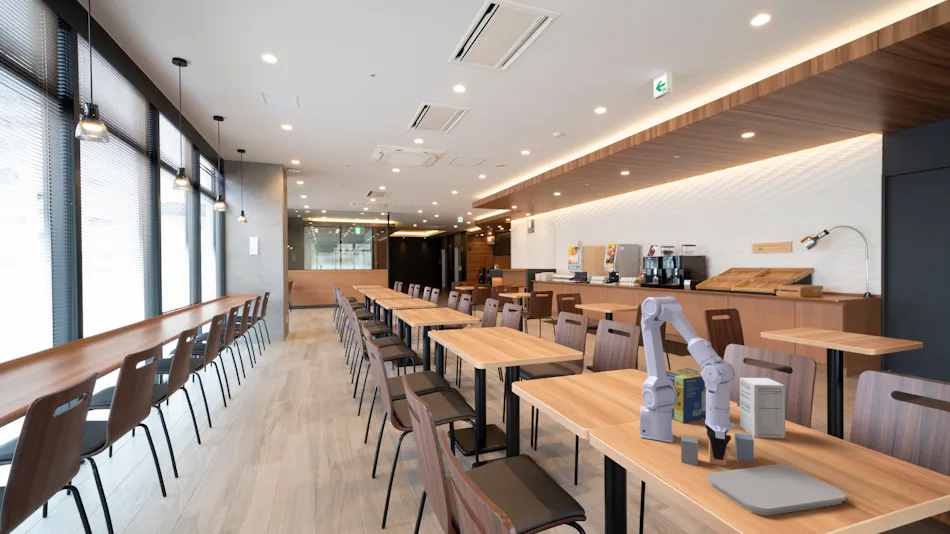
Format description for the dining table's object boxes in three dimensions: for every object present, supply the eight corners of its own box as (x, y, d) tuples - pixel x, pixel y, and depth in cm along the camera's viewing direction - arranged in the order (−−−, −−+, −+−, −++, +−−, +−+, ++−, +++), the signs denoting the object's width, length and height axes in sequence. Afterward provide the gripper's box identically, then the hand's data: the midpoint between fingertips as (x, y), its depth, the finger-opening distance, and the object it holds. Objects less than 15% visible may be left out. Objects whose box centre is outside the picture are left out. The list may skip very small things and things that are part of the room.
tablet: (701, 482, 105) (701, 473, 105) (785, 472, 111) (785, 463, 111) (758, 521, 89) (758, 510, 89) (853, 506, 95) (853, 496, 95)
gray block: (681, 462, 115) (681, 440, 115) (681, 456, 119) (681, 435, 119) (697, 465, 114) (698, 443, 114) (697, 459, 117) (697, 438, 117)
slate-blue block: (736, 459, 118) (736, 437, 118) (734, 453, 121) (734, 432, 121) (753, 462, 116) (753, 440, 116) (751, 456, 120) (751, 435, 120)
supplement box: (769, 428, 141) (769, 377, 141) (786, 439, 132) (786, 385, 132) (738, 426, 142) (738, 376, 142) (754, 437, 133) (754, 384, 133)
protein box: (658, 414, 154) (658, 371, 154) (687, 408, 161) (687, 367, 161) (683, 423, 145) (683, 378, 145) (713, 417, 151) (713, 374, 151)
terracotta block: (709, 463, 115) (709, 441, 115) (708, 457, 119) (708, 435, 119) (726, 466, 113) (726, 443, 113) (725, 460, 117) (725, 438, 117)
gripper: (738, 416, 108) (738, 469, 108) (731, 400, 121) (731, 448, 121) (707, 412, 111) (706, 464, 111) (703, 397, 124) (703, 443, 124)
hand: (717, 455), depth 116 cm, fingers closed on terracotta block, 4 cm apart
